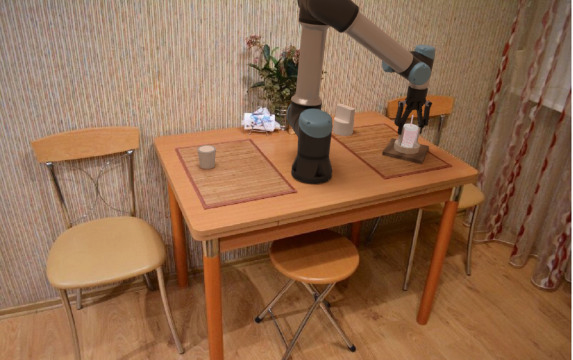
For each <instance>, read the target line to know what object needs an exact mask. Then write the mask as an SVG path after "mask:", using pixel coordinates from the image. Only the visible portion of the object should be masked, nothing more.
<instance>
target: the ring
mask: <svg viewBox="0 0 573 360" xmlns="http://www.w3.org/2000/svg"><path fill="white" fill-rule="evenodd" d="M396 139H397V140H396V141H395V143H394V148H395V150H396V151H398V152H400V153H405V154H415V153H418V152H419V149H420V144H421V143H420V142H419V141H418V142H415V141H414V143H413V147H404V146H401V143H400V142H399V141H398V138H396Z"/></svg>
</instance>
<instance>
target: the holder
mask: <svg viewBox="0 0 573 360" xmlns="http://www.w3.org/2000/svg"><path fill="white" fill-rule="evenodd" d="M397 139H398V138H393V137H392V138H391V139H390V140H389V141H388V143H387V144H386V146H385V148H384V149H383V150H382V156H385V157H387V158H388V157H389V158H393V159H398V160H402V161H407V162H411V163H415V164H421V165H422V164H423V162H424V161H425V157H426V155H427V153H428V151H429V149H430V145H426V144H421V143H419V144H420V149H419V152H418V153H415V154H405V153H400V152H398V151H396V150H395V148H394V143H395V141H396V140H397Z"/></svg>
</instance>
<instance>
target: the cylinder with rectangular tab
mask: <svg viewBox="0 0 573 360" xmlns="http://www.w3.org/2000/svg"><path fill="white" fill-rule="evenodd" d="M355 113H356V108H354V107H352V106H349V105H346V104H343V103H337V104H336V105H335V115H334V118H333V128H332V133H333V134H335V135H337V136H343V137H347V136H348V137H349V136H352V135H353V133H354V126H355Z"/></svg>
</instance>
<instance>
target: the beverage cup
mask: <svg viewBox="0 0 573 360" xmlns="http://www.w3.org/2000/svg"><path fill="white" fill-rule="evenodd" d="M413 119H414V114H412V115H411V119H410V123H405V124H404V126H403V127H404V128H405V130H404V136H403V141H402V143H401V146H404V147H413V143H414V140H415V136H416V132H417V130H418V126H416V125H417V124H413Z"/></svg>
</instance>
